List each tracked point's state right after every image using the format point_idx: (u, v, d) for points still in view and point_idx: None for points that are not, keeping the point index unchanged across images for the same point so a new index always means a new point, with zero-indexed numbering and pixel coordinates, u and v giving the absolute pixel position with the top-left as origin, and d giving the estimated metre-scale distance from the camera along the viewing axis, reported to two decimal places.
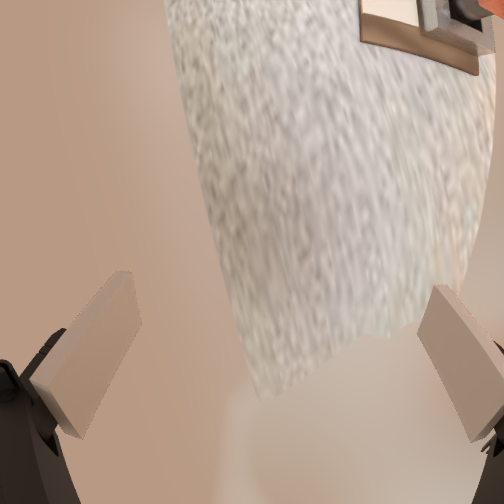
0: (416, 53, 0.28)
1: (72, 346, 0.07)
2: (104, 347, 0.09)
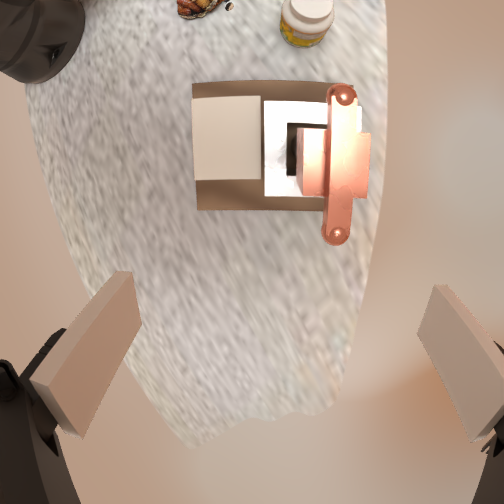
0: None
1: (72, 346, 0.07)
2: (104, 347, 0.09)
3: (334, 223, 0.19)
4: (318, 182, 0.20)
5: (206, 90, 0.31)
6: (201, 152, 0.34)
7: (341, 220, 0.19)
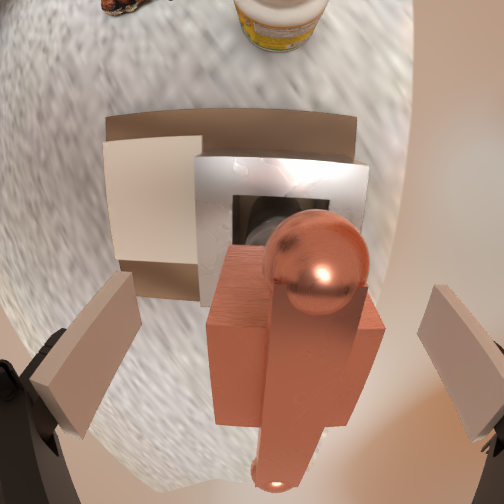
0: None
1: (72, 346, 0.07)
2: (104, 347, 0.09)
3: (270, 480, 0.08)
4: (246, 411, 0.09)
5: (124, 127, 0.20)
6: (120, 222, 0.23)
7: (283, 478, 0.08)
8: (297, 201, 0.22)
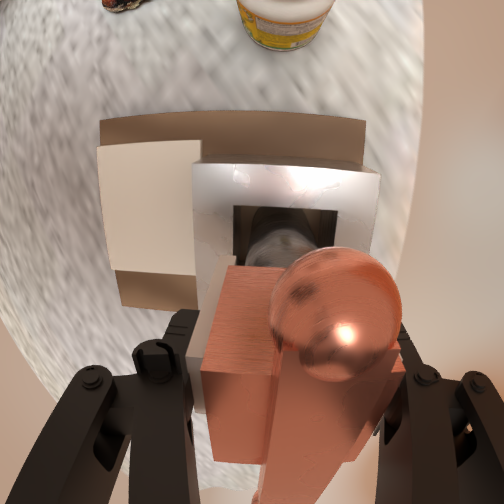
0: None
1: None
2: None
3: None
4: (247, 451, 0.07)
5: (119, 131, 0.19)
6: (115, 231, 0.22)
7: None
8: (302, 210, 0.20)
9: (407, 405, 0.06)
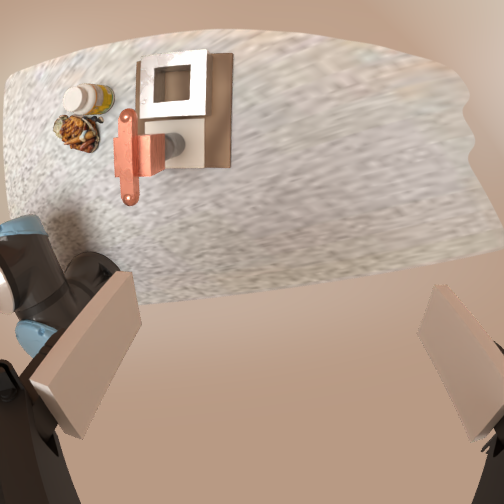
0: (230, 119, 0.44)
1: (72, 346, 0.07)
2: (104, 347, 0.09)
3: (124, 191, 0.30)
4: None
5: None
6: (183, 161, 0.46)
7: (128, 189, 0.30)
8: (181, 136, 0.44)
9: None
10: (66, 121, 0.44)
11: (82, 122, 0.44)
